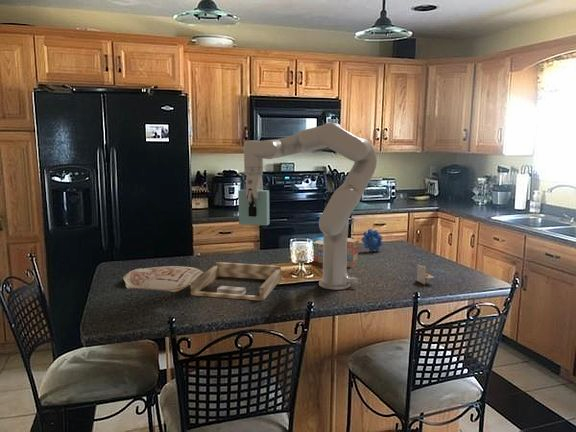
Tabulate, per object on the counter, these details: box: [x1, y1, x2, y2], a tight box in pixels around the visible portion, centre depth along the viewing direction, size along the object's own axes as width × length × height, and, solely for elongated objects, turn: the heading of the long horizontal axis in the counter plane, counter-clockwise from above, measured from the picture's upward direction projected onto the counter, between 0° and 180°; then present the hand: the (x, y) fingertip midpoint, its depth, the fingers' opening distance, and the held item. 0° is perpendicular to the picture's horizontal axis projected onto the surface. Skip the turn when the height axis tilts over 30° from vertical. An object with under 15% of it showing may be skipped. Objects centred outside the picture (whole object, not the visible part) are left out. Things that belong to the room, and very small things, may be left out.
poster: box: [122, 265, 205, 293], centre depth 204 cm, size 28×6×30 cm
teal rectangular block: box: [237, 189, 271, 226], centre depth 201 cm, size 12×4×14 cm, turn 77°
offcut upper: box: [216, 285, 247, 295], centre depth 183 cm, size 10×4×2 cm, turn 74°
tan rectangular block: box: [312, 237, 360, 268], centre depth 229 cm, size 21×6×12 cm, turn 58°
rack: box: [190, 261, 282, 302], centre depth 190 cm, size 28×27×7 cm
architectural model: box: [416, 264, 435, 285], centre depth 200 cm, size 3×7×7 cm, turn 19°
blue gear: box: [361, 228, 384, 252], centre depth 250 cm, size 12×7×12 cm, turn 105°
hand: (254, 214), depth 201 cm, fingers closed on teal rectangular block, 4 cm apart
